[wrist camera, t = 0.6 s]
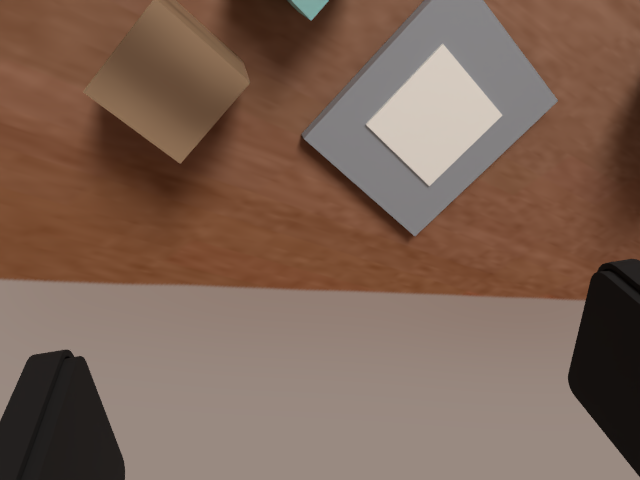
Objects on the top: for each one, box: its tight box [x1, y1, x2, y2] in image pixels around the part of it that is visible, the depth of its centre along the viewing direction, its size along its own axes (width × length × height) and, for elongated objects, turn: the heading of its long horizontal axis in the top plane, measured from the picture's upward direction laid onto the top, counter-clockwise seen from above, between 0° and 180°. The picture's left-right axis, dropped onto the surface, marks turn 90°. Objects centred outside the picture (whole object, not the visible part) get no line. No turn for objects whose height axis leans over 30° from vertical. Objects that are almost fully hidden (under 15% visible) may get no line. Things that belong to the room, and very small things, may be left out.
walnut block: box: [83, 0, 250, 164], centre depth 30 cm, size 6×6×6 cm
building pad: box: [302, 0, 558, 236], centre depth 37 cm, size 14×12×1 cm
